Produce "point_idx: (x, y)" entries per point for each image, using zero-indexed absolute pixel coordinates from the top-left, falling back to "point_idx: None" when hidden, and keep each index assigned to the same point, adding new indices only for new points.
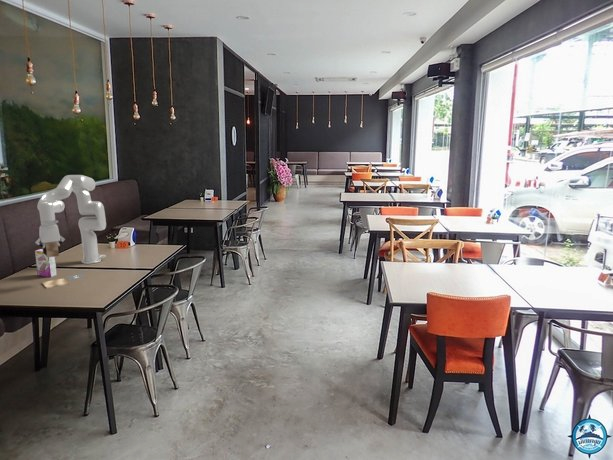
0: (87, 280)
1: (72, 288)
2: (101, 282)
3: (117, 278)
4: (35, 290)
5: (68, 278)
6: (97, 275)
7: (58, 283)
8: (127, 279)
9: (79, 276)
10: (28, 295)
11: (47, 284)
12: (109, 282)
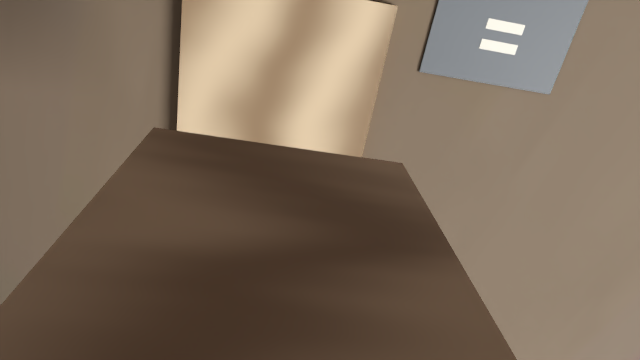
0: (495, 194)
1: None
2: (513, 303)
3: (629, 296)
4: (90, 147)
5: (439, 7)
6: (635, 120)
7: (289, 140)
8: (636, 352)
9: (537, 26)
10: (25, 232)
11: (205, 96)
12: (538, 334)
